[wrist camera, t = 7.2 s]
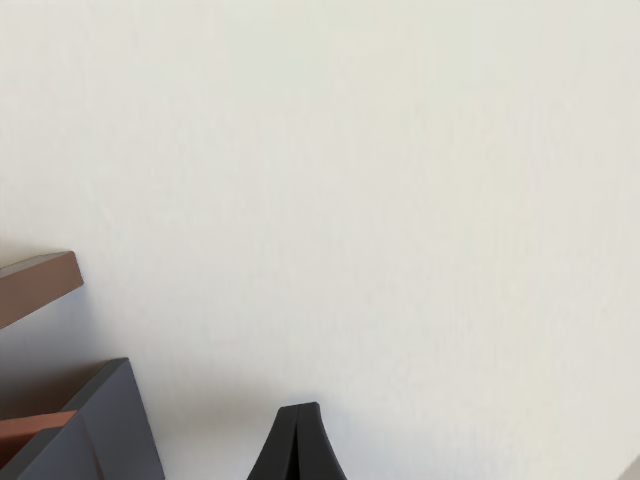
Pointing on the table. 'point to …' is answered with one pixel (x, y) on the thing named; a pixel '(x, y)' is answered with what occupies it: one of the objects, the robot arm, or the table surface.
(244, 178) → the table surface
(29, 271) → the desk
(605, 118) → the table surface
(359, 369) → the table surface
